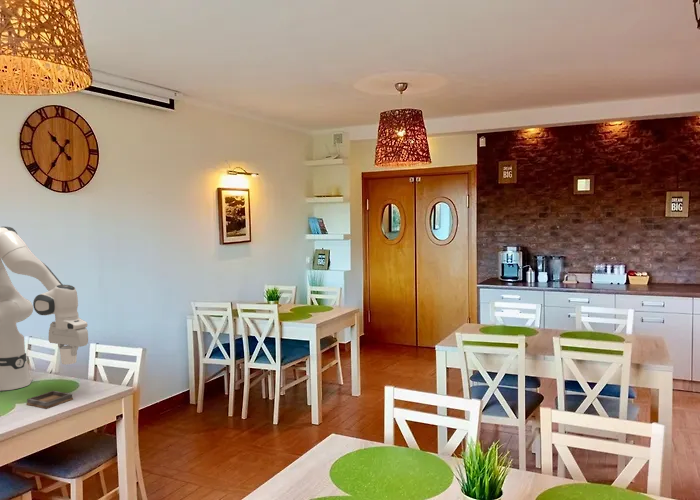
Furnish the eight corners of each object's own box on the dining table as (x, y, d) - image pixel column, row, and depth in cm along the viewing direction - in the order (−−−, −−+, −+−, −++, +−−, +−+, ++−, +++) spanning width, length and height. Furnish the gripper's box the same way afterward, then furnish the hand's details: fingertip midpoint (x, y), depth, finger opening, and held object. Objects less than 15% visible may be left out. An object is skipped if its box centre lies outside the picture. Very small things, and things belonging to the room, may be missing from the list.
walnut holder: (26, 404, 222) (26, 399, 222) (53, 395, 233) (53, 390, 233) (46, 408, 217) (46, 403, 217) (73, 399, 228) (72, 394, 228)
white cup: (81, 360, 237) (80, 344, 237) (71, 365, 231) (70, 348, 230) (66, 360, 238) (65, 344, 238) (56, 364, 231) (55, 348, 231)
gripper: (43, 322, 235) (45, 354, 235) (77, 326, 226) (78, 358, 227) (56, 319, 240) (58, 350, 241) (90, 323, 232) (91, 355, 233)
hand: (68, 354), depth 234 cm, fingers closed on white cup, 5 cm apart
